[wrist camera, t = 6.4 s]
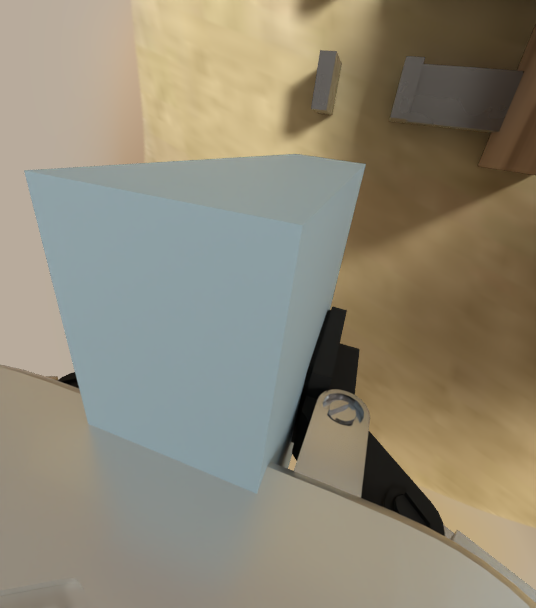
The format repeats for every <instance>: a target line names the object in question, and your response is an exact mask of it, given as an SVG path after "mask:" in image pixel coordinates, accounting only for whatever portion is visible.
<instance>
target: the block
mask: <svg viewBox="0 0 536 608" xmlns="http://www.w3.org/2000/svg"><path fill="white" fill-rule="evenodd" d="M365 165H366V164H362V163H355V162H348V161H341V160H334V159H327V158H320V157H314V156H307V155H300V154H288V155H272V156H255V157H238V158H222V159H205V160H189V161H172V162H156V163H140V164H123V165H107V166H90V167H73V168H58V169H41V170H25V171H24V172H25V176H26V180H27V183H28V187H29V191H30V195H31V199H32V203H33V207H34V211H35V215H36V219H37V223H38V227H39V231H40V235H41V239H42V243H43V247H44V251H45V255H46V259H47V263H48V267H49V270H50V274H51V279H52V283H53V287H54V290H55V294H56V298H57V302H58V306H59V310H60V314H61V318H62V322H63V326H64V330H65V334H66V338H67V342H68V346H69V349H70V354H71V358H72V362H73V365H74V369H75V374H76V378H77V382H78V386H79V390H80V394H81V397H82V401H83V405H84V409H85V413H86V417H87V421H88V424H90V425H92V426H95V427H97V428H100V429H102V430H104V431H107V432H109V433H112V434H114V435H117V436H119V437H122V438H124V439H126V440H129V441H131V442H134V443H136V444H139V445H141V446H143V447H146V448H148V449H151V450H153V451H155V452H158V453H160V454H163V455H165V456H168V457H170V458H172V459H175V460H177V461H180V462H182V463H184V464H187V465H189V466H192V467H194V468H196V469H199V470H201V471H203V472H206V473H208V474H211V475H213V476H215V477H218V478H220V479H222V480H225V481H227V482H230V483H232V484H234V485H237V486H239V487H242V488H244V489H246V490H249V491H251V492H254V493H256V494H257V493H258V490H259V487H260V484H261V481H262V479H263V476H264V473H265V470H266V468H267V466H268V465H269V464H270V463H271V462H272V463H274V464H277V465H280V466H282V467H285V468H287V469H288V466H289V462H290V459H291V456H292V449H293V445H294V443H292V442H291V438H292V434H293V429H294V425H295V421H296V416H297V412H298V408H299V403H300V399H301V395H302V390H303V386H304V382H305V377H306V374H307V370H308V367H309V363H310V360H311V357H312V354H313V351H314V349H315V346H316V343H317V340H318V337H319V334H320V331H321V328H322V325H323V322H324V319H325V316H326V313H327V310H330V307H331V303H332V299H333V295H334V291H335V287H336V283H337V279H338V275H339V271H340V266H341V262H342V258H343V254H344V250H345V246H346V242H347V238H348V234H349V230H350V226H351V222H352V218H353V214H354V210H355V206H356V202H357V198H358V194H359V190H360V185H361V181H362V177H363V173H364V169H365Z"/></svg>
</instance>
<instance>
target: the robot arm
mask: <svg viewBox="0 0 536 608" xmlns="http://www.w3.org/2000/svg"><path fill="white" fill-rule="evenodd" d="M346 311H347V310H343V309H340V308H336V307H332V309H331V310H327V313H326V316H325V319H324V322H323V325H322V328H321V331H320V334H319V337H318V340H317V343H316V346H315V349H314V351H313V354H312V357H311V360H310V363H309V367H308V370H307V374H306V377H305V382H304V386H303V390H302V395H301V399H300V403H299V408H298V412H297V416H296V421H295V425H294V429H293V434H292V438H291V442H292V443H294V445H293V449H292V454H293V456H294V457H295V459H296V460H297V463H296V466H295V469H294V471H292V470H290V469H287V468H285V467H282V466H280V465H277V464H274V463H272V462H271V463H270V464H269V465H268V466H267V468H266V470H265V473H264V476H263V479H262V481H261V484H260V487H259V490H258V493H257V494H256V493H254V492H251V491H249V490H246V489H244V488H242V487H239V486H237V485H234V484H232V483H230V482H227V481H225V480H222V479H220V478H218V477H215V476H213V475H211V474H208V473H206V472H203V471H201V470H199V469H196V468H194V467H192V466H189V465H187V464H184V463H182V462H180V461H177V460H175V459H172V458H170V457H168V456H165V455H163V454H160V453H158V452H155V451H153V450H151V449H148V448H146V447H143V446H141V445H139V444H136V443H134V442H131V441H129V440H126V439H124V438H122V437H119V436H117V435H114V434H112V433H109V432H107V431H104V430H102V429H100V428H97V427H95V426H92V425H90V424H88V421H87V417H86V413H85V409H84V405H83V401H82V397H81V394H80V390H79V386H78V382H77V378H76V374H75V372H74V373H70V374H68V375H66V376H64V377H62V378H60V379H59V380H58V377H57V376H56V377H55V376H49V377H47V376H46V377H45V376H42V375H39V374H35V373H32V372H29V371H26V370H22V369H18V368H13V367H9V366H5V365H0V608H536V590H534V589H533V588H532V587H531V586H529V585H528V584H527V583H525V582H524V581H523V580H522V579H520V578H519V577H518V576H516V575H515V574H514V573H513V572H511V571H510V570H509V569H507V568H506V567H505V566H503V565H502V564H501V563H499V562H498V561H497V560H496V559H495V558H493V557H492V556H491V555H489V554H488V553H487V552H485V551H484V550H483V549H482V548H480V547H479V546H478V545H476V544H475V543H474V542H473V541H471V540H470V539H469V538H467V537H466V536H465V535H464V534H462V533H461V532H460V531H458V530H457V531H456V532H455V533H453V532H452V531H451V530H449V529H448V528H447V527H445V526H444V525H443V522H442V519H441V517H440V515H439V513H438V511H437V510H436V508H435V507H434V505H433V504H432V503H431V501H430V500H429V499H428V498H427V497H426V496H425V495H424V493H423V492H422V491H421V490H420V489H419V488H418V487H417V485H416V484H415V483H414V482H413V481H412V480H411V478H410V477H409V476H408V475H407V474H406V473H405V472H404V470H403V469H402V468H401V467H400V466H399V465H398V464H397V462H396V461H395V460H394V459H393V458H392V457H391V456H390V454H389V453H388V452H387V451H386V450H385V449H384V448H383V446H382V445H381V444H380V443H379V442H378V441H377V440H376V438H375V437H374V436H373V435H372V434H371V433H370V432H369V423H370V413H369V410H368V408H367V406H366V405H365V403H364V402H363V401H362V400H361V399H360V398H358V397H357V396H356V395H355V386H356V377H357V368H358V359H359V349H357V348H354V347H350V346H347V345H343V344H340V339H341V334H342V330H343V325H344V321H345V316H346Z"/></svg>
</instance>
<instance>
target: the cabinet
mask: <svg viewBox="0 0 536 608" xmlns="http://www.w3.org/2000/svg"><path fill="white" fill-rule="evenodd" d="M517 71H524V73H523V76H522V78H521V80H520V83H519V85H518V88H517V90H516V92H515V95H514V97H513V100H512V102H511V104H510V107H509V109H508V111H507V114H506V116H505V119H504V121H503V123H502V126H501V128H500V131H499V132H493V133H491V135H490V137H489V140H488V142H487V144H486V147H485V149H484V152H483V154H482V157H481V159H480V162H479V164H478V166H480V167H487V168H493V169H500V170H506V171H513V172H519V173H525V174H532V175H536V25H535V27H534V30H533V32H532V35H531V37H530V39H529V42H528V44H527V47H526V49H525V52H524V54H523V57H522V59H521V61H520V64H519V66H518V69H517Z"/></svg>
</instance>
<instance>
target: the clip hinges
mask: <svg viewBox="0 0 536 608" xmlns="http://www.w3.org/2000/svg"><path fill="white" fill-rule="evenodd" d="M424 60H425V57H412V56H406V60H405V63H404V66H403V70H402V73H401V77H400V81H399V85H398V88H397V92H396V96H395V100H394V104H393V107H392V111H391V115H390V119H389V121H390V122H399V123H408V124H417V125H426V126H435V127H444V128H453V129H462V130H470V131H479V132H488V133H493V132H499V131H500V128H501V126H502V123H503V121H504V119H505V116H506V114H507V111H508V109H509V107H510V104H511V102H512V100H513V97H514V95H515V92H516V90H517V88H518V85H519V83H520V80H521V78H522V76H523V73H524V71H517V70H503V69H489V68H474V67H460V66H446V65H432V64H423V63H424ZM341 65H342V63H341V61H340V58H339V56H338V53H337V51H322V50H320V55H319V62H318V68H317V75H316V81H315V88H314V94H313V100H312V107H311V109H312V110H314V111H316V112H317V113H319V114H327V115H332V113H333V108H334V103H335V97H336V92H337V86H338V81H339V76H340V70H341Z"/></svg>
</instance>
